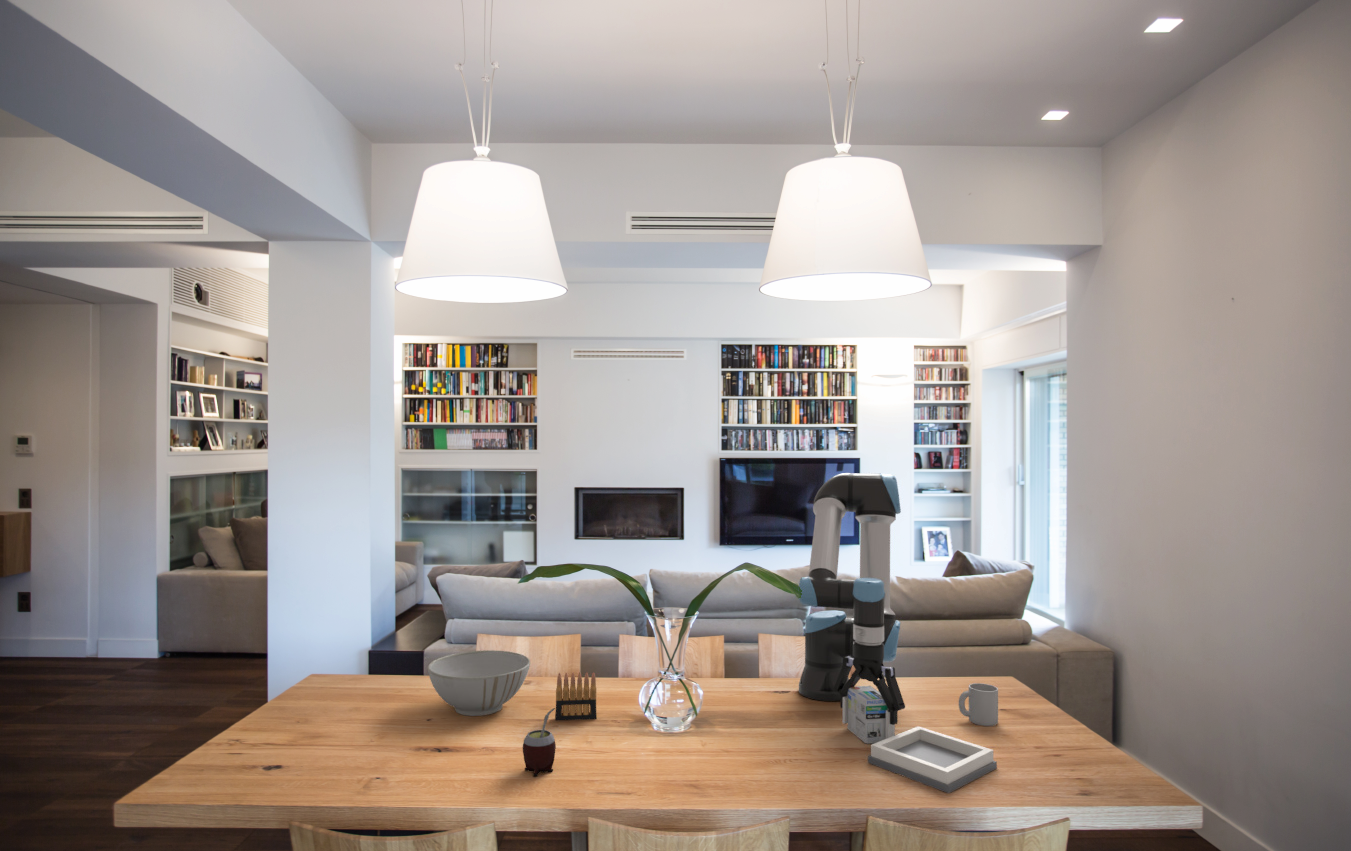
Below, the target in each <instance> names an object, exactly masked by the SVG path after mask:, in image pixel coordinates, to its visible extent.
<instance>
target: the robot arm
mask: <svg viewBox="0 0 1351 851" xmlns="http://www.w3.org/2000/svg"><path fill="white" fill-rule="evenodd" d="M812 511H813V513H814V515H815V518H814V527H813V535H812V544H811V551H810V552H811V553H810V561H809V562H810V563H809V570H808V576H802V577H801V578H800V579H799V582H798V584H799V585H798V588H799V587H800V589H801V590H802V592H801V593H802V595H801V598H799V597H798V600H799V603H800V604H801V605H802V606H807V607H814V608H833V609H834V608H836V609H843V610H844V609H845V610H846V609H848V610H853V613H852V614H853V617H847V614H846V611H843V610H822V611H821V610H820V611H816V612H813V613H810V614H809V615H807V616H806V618H805V625H804V636H805V637H804V667H803V670H802V673H801V676H800V680H799V682H798V693H799V694H800V695H802V696H803V697H805V698H807V699H812V700H816V701H825V702H838V701H840V705H839V706H840V709H842V724H843V725H846V724H848V689H849V688H850V687H854V686H856V685H857V684H858V682H859V681H860V679H861V680H867V682H870V683H871V682H872V683H873V685H874V686H875V687H876V689H877V691H879V692H880V694H881V696H882V698H883V700H884V702H885V703H886V705H887V707H888V709H889V710H886V738H890V737H892V736H895V735H896V733H895V731H896V728H895V726H896V725H897V723H898V721H899V720H898V711H901V710H904V709H905V708H906V704H905V702H904V699H903V695H902V692H901V690H900V687H899V684H898V680H897V679H896V668H895V667H894V666H890V667H889V666H885V665H884V663H892V662H893V661H895V660H896V657H897V650H898V643H899V635H900V630H901V621H900V620H898V619H896V613H895V612H894V610H892V608H891V525H892V524H893V523H894V522H895V521H896V516H897V515H898V514H901V511H902V510H901V503H900V494H899V487H898V481H897V478H896V476H895V475H892V474H887V473H858V472H857V473H851V472H845V473H838V474H836V475H834V476H832V477H831V478H829V479H828V480H826V481H825V482H824V484H822V486H821V487H820V488H819V489H818V491H817V492H816V495H815V497H814V499H813V506H812ZM847 512H850V513H855V519H856V520H857V522H858V523H859V524H860V531H859V532H860V533H859V534H860V535H859V536H860V538H859V539H860V542H859V543H860V545H859V557H860V558H859V577H858V578H856V579H842V578H841V579H840V578H838V568H839V556H840V543H841V529H842V519H844V517H845V515H846V514H847ZM853 667H854V669H855V670H854V671H853V673H851V670H852V668H853ZM850 673H851V677H850V678H849V675H850Z"/></svg>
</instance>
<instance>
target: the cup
mask: <svg viewBox="0 0 1351 851" xmlns="http://www.w3.org/2000/svg"><path fill="white" fill-rule="evenodd" d="M967 698H968V709H967V708H966V699H967ZM958 709H959V712H960V713H961V715H962V716H964V717H967V718H968V720H969V721H971V722H970V723H972V724H975V725H978V726H981V725H982V726H981V727H994V726H997V725H998V723H999V688H998V687H997V686H994V685H993V684H988V683H982V682H981V683H980V682H979V683H978V682H977V683H976V682H974V683H970V684H968V690H964V691H963V692H962V693H961V694H960V695H959V698H958ZM996 724H997V725H996Z"/></svg>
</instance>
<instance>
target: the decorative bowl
mask: <svg viewBox="0 0 1351 851" xmlns="http://www.w3.org/2000/svg"><path fill="white" fill-rule="evenodd" d="M530 667H531V661H530V659H529V657H527V656H526V655H524V654H521V653H518V652H515V651H514V652H513V651H508V650H492V649H491V650H490V649H489V650H488V649H487V650H485V649H484V650H472V651H462V652H457V653H452V654H451V653H450V654H447V655H444V656H442V657H438V658H436V659H434V660H432V661H431V662H430V663H429V664H428V665H427V672H428V676H429V680H430V682H431V684H432V687H433V688H434V690H435V692H436V694H438V695H439V697H440V699H442V700H443V701H444V702H445V703H447V704H448V705H449V706H451V707H453V708H454V709H455V712H456V713H457V714H460V715H462V716H471V717H479V716H487V715H490V714H491V715H492V714H494V713H497V712H499V711H501V710H502V709H503V705H505V704H506V703H507V702H509V701H510V700H511V699H512V698H513V697H514V696H516V694H517V693H518V692H519V691H520V688H521V687H522V686H523V683H524V682H525V680H526V678H527V676H528V673H529V670H530Z"/></svg>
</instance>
